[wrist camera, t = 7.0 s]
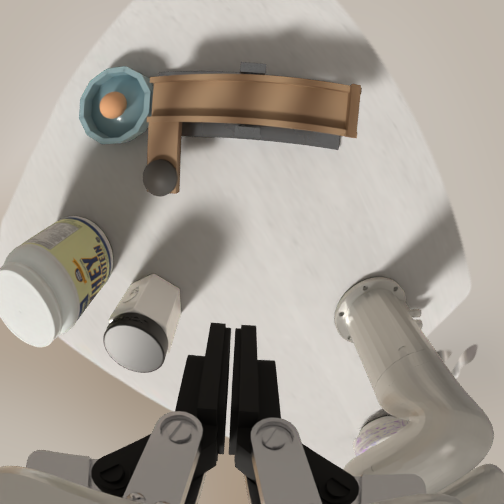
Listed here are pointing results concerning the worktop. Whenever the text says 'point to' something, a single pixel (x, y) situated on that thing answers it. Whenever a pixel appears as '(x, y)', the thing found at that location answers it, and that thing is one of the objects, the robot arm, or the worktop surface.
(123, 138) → the dish
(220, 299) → the worktop surface
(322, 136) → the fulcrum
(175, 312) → the jar
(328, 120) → the lever
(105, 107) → the ball
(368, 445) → the paper bowls
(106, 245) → the supplement tub
